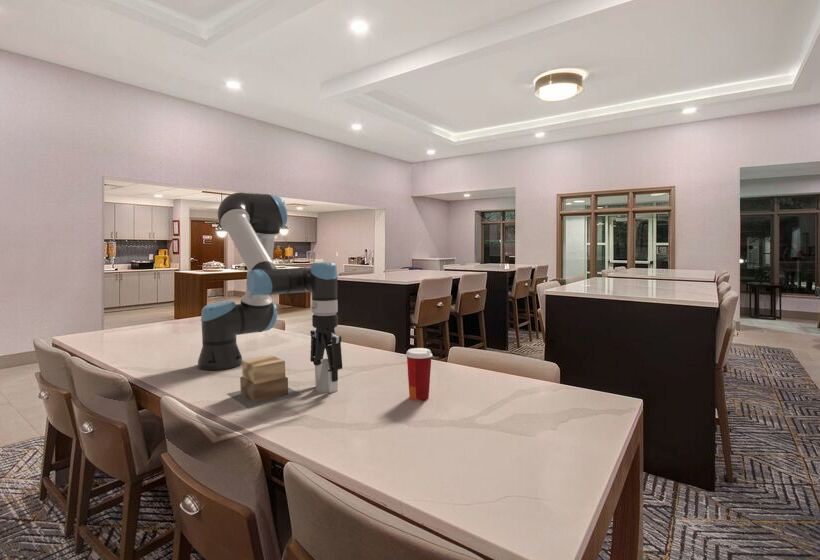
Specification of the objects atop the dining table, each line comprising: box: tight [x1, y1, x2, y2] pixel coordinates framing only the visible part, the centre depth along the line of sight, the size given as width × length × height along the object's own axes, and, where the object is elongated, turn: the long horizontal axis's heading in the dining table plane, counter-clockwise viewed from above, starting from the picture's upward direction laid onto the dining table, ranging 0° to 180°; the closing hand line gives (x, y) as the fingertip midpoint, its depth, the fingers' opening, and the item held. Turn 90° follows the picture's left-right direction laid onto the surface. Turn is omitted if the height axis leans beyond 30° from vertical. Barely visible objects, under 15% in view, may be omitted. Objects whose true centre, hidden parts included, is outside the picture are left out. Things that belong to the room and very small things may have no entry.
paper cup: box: [405, 347, 433, 402], centre depth 126 cm, size 8×8×14 cm
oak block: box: [241, 354, 286, 384], centre depth 126 cm, size 9×9×5 cm
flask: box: [314, 358, 330, 393], centre depth 132 cm, size 7×7×10 cm
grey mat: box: [226, 386, 303, 409], centre depth 127 cm, size 16×16×1 cm
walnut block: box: [240, 376, 289, 403], centre depth 127 cm, size 10×10×5 cm
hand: (326, 388), depth 132 cm, fingers closed on flask, 7 cm apart
